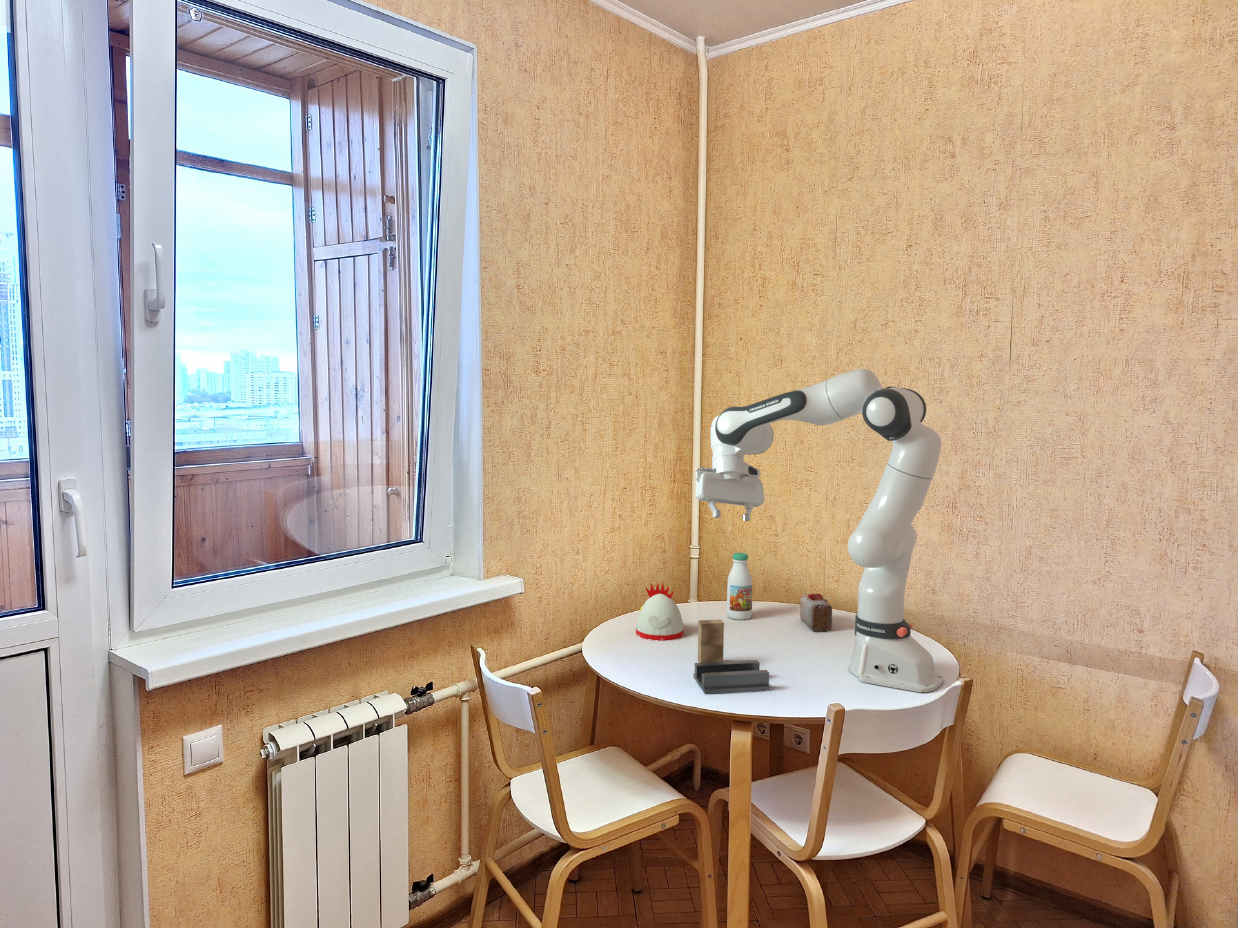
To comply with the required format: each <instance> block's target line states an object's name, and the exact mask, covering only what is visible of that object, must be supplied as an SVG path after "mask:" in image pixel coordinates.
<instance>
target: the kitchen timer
mask: <svg viewBox="0 0 1238 928" xmlns="http://www.w3.org/2000/svg"><path fill="white" fill-rule="evenodd" d="M645 590H646V593H647V595H648V597H649V598H648V599H646V600H645V602H644V603H643V605H642V606H641V607H640V608H639V613H638V616H637V621H636V625H635V634H636V636H637V637H639V636H640V637H639V638H641V639H645V640H648V639H651V640H650V641H655V640H658V641H657V642H659V641H660V642H661V641H662V642H667V640H668V641H674V640H678V639H680V638H682V637H683V636H684V628H685V627H684V622H683V618H682V614H681V611H680V609H679V607H678V605H677V604H676V602H675V600H673V599H672V597H673V596H674V592H675V591H674V590H673V591H672V592H671V593H670V594H668V593H669V590H670V587H669V586H667V588H666V589H665V586H664V582H662V584H661V589H660V585H659V582H657V583H656V589H654V585H653V583H652V582H651V583H650V589H648V587H647V586H646V587H645Z"/></svg>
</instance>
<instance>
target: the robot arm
mask: <svg viewBox="0 0 1238 928" xmlns="http://www.w3.org/2000/svg"><path fill="white" fill-rule="evenodd" d="M926 403H927V402H926V401H925V399H924V397H922V395H921V394H920V393H919V392H917V391H915V390H913V389H911V388H905V387H897V386H887V387H883V385H882V384H881V382H880V380H879V378H878V376H877V375H876V374H875V373H874V372H873V371H872V370H869V369H868V368H858V369H854V370H851V371H846V372H844V373H841V374H837V375H834V376H832V377H829V378H828V379H826V380H823V381H820V382H818V383H815V384H812V385H810V386H807V387H803V388H800V389H796V390H792V391H788V392H784V393H781V394H778V395H777V394H776V395H774V396H772V397H769V398H765V399H762V400H760V401H757V402H754V403H752V404H749V405H745V406H730V407H727V408H726V409H724V410H723V411H722V412H720V414H719V415H717V416H715V417H714V418H713V420H712V422H711V423H710V424H711V425H710V430H709V431H710V433H709V434H710V435H709V437H710V449H711V452H712V458H711V467H705V466H701V467H699V468H697V469H696V471H695V479H696V481H695V482H696V484H695V497H696V499H697V501H701V502H707V504H708V507H709V509H710V511H711V512H712V518H715V519H719V518H720V517H721V516H722V515H721V510H719V509H718V507H717V505H716V504H726V505H733V506H743V507H744V510H745V513H743V514H742V515H741V517H742V521H743V522H744V521H745V522H749V521H751V514H752V511H753V510H754V508H757V507H760V506H762V505H763V504H764V502H765V492H764V491H765V489H764V485H763V482H762V480H761V479H760V477H761V475H762V474H761V470H760V469H758V468H757V467H755V466H752V465H750V464H748V463H747V462H745V460H744V459H745V458H744V457H745V456H749V455H751V456H752V455H759V454H763V453H765V452H767V451H768V450H769V449H770V448H771V446H772V444H773V441H774V436H775V434H774V429H773V427H772V426H771V424H773V423H777V422H779V421H785V420H787V421H788V420H791V421H799V422H803V423H807V424H811V425H816V426H827V425H832V424H833V425H834V424H836V423H839V422H841V421H844V420H846V419H849V418H851V417H854V416H856V415H859V414H862V418H863V420H864V422H865V424H866V425H867V426H868V427H869V428H870V429H871V430H873V431H874V432H876V433H877V434H878V435H879V436H881V437H882V438H883V439H885V440H887V442H891V443H892V448H891V451H890V455H889V457H888V460H887V462H886V464H885V468H884V470H883V473H882V474H881V475H882V476H881V478H880V481H879V484H878V487H877V488H876V492H875V493H874V496H872V500H871V501H870V503H869V504H868V506H867V508H866V510H865V511H864V513H863V515H862V517H861V519H860V521H859V523H858V524H857V526H856V528H855V530H854V531H853V533H852V534H851V535H850V537H849V539H848V541H847V551H848V555H849V557H850V558H851V560H852V561H853V562H854V563H855V564H856V565H858V566H860V567H863V568H864V569H863V573H862V575H861V578H860V581H859V584H858V587H857V614H855V621H854V636H855V641H854V647H853V652H852V656H851V659H850V663H849V665H848V670H849V672H850V673H851V674H853V675H854V676H855V677H857V679H858V681H860V682H862V683H867V684H871V685H877V686H878V685H879V686H883V687H889V688H893V689H898V688H899V690H904V691H910V692H917V693H922V692H924V693H930V692H933V691H935V690H938V687H939V688H940V687H941V686H942V685H943V684H944V681H945V679H944V675H943V673H940V672H937V671H935V663H934V659H933V658H934V657H933V656H932V654H931V652H930V651H928V649H926V648H925V647H924V646H923V645H921V643H919V642H918V641H917V640H916V639H915V638H914V637H913V636H912V635H911V632H912V630H911V629H913V627H914V626H913V625H914V623H913V622H912V623H911V622H910V623H908V622H907V621H906V619H905V618H904V613H905V610H904V608H905V593H906V591H905V590H906V585H907V581H908V575H909V571H910V567H911V561H912V557H913V556H912V555H913V551H914V548H915V546H916V543H917V541H918V538H917V531H916V529H915V526H914V525H913V521H914V519H915V517H916V516H917V514H918V513H919V511H920V510H922V507H923V505H924V502H925V499H926V496H927V494H928V492H929V488H930V487H931V483H932V481H933V479H934V477H935V476H934V475H935V472H936V469H937V467H938V464H939V460H940V454H941V448H942V439H941V436H940V435H939V433H938V432H937V431H936V430H935V429H932V427H929V426H926V425H925V424H923V421H924V419H925V418H926V414H927V404H926ZM942 683H943V684H942Z"/></svg>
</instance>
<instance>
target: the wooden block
mask: <svg viewBox="0 0 1238 928" xmlns="http://www.w3.org/2000/svg"><path fill="white" fill-rule="evenodd" d="M697 624H698V625H697V627H698V629H697V631H698V633H697V636H698V637H697V663H704V662H723V661H724V643H725V641H724V636H725V634H724V633H725V628H724V627H725V623H724V622H723V620H722V619H705V620H704V619H703V620H702V619H700V620H699V619H698V623H697Z"/></svg>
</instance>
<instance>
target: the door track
mask: <svg viewBox="0 0 1238 928" xmlns="http://www.w3.org/2000/svg"><path fill="white" fill-rule="evenodd" d="M760 665H761V664H760V661H759V660H758V659H747V660H745V659H744V660H726V661H724V660H723V662H704V663H699V662H694V673H693V679H694V680H695V682H696V683H697V684H698V686H699V687H700V689H701V691H702V693H703V694H704V695H714V694H715V695H716V694H718V695H719V694H730V693H731V694H733V693H750V692H766V690H770V691H771V685H770V672H769V671H768V670H767V669H760V668H761V667H760Z"/></svg>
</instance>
